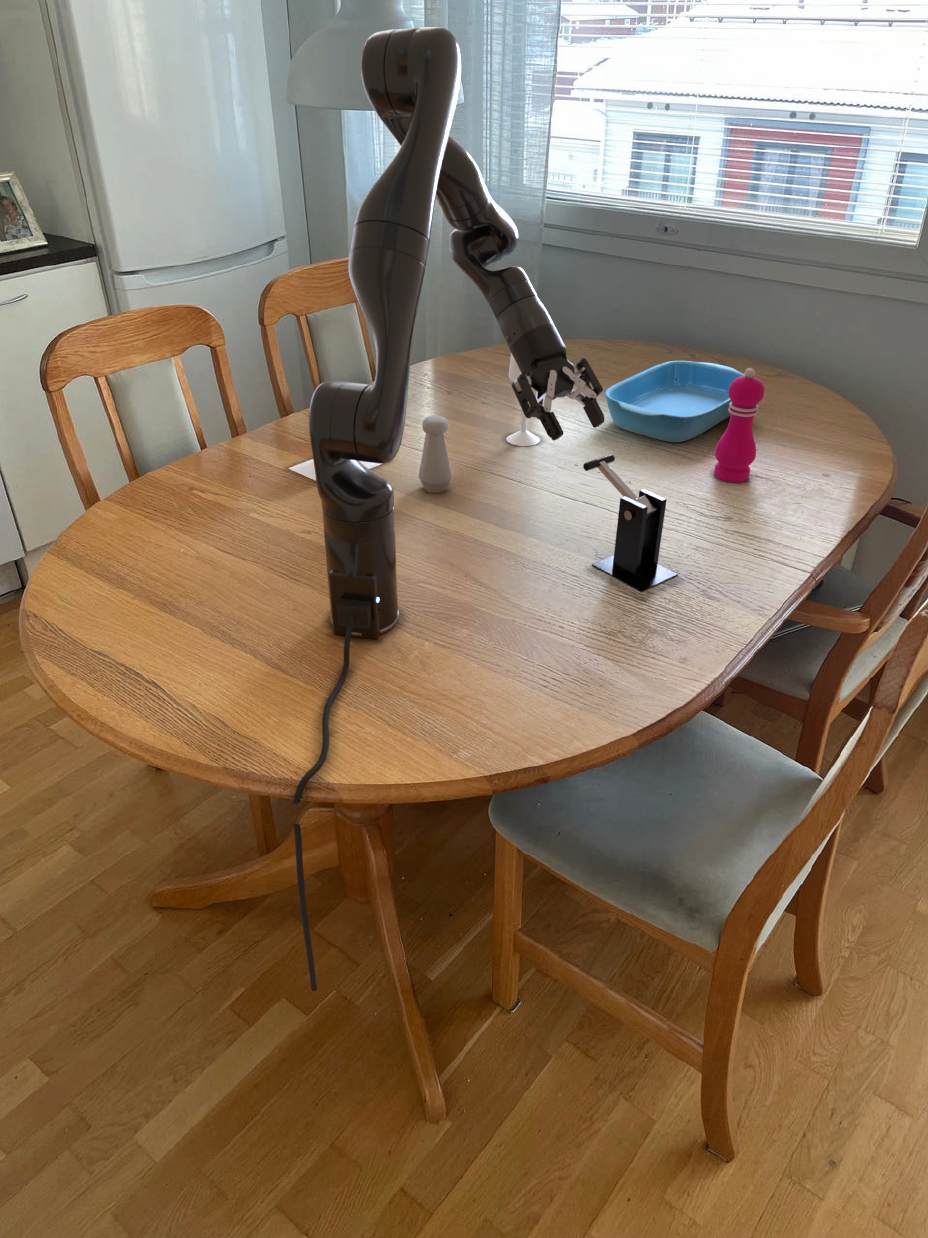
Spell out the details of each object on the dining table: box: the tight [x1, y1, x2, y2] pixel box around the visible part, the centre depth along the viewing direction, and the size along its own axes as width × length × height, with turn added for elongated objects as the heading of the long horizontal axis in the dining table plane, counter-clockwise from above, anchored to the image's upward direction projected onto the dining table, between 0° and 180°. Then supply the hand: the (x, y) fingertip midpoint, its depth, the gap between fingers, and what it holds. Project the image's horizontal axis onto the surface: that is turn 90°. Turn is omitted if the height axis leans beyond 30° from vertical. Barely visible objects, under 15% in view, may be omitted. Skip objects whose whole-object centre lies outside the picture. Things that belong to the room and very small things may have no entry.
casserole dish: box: [604, 360, 745, 443], centre depth 192 cm, size 37×22×7 cm, turn 140°
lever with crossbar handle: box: [582, 453, 656, 521], centre depth 134 cm, size 12×6×2 cm, turn 39°
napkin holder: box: [287, 458, 382, 482], centre depth 170 cm, size 15×11×6 cm
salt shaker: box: [418, 415, 453, 494], centre depth 160 cm, size 6×6×13 cm
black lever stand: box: [591, 488, 679, 593], centre depth 135 cm, size 10×8×13 cm
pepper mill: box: [713, 367, 765, 483], centre depth 164 cm, size 7×7×20 cm
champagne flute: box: [506, 352, 541, 447], centre depth 177 cm, size 7×7×24 cm
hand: (579, 431), depth 137 cm, fingers open, 8 cm apart
